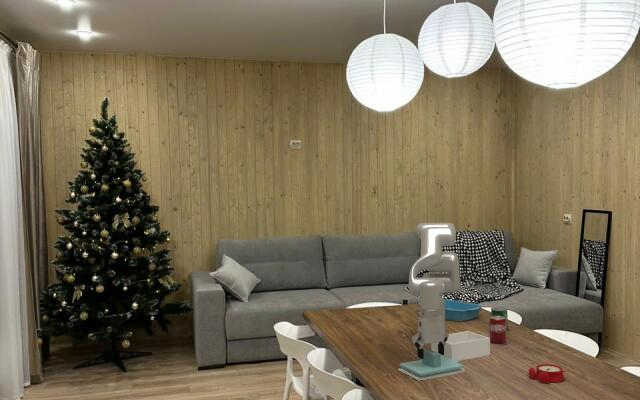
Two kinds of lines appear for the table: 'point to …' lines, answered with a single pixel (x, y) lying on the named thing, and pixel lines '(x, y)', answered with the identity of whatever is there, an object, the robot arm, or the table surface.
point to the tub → (464, 346)
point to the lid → (432, 364)
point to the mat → (430, 375)
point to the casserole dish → (460, 310)
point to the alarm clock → (547, 373)
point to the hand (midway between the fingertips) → (431, 356)
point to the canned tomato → (500, 313)
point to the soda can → (498, 330)
